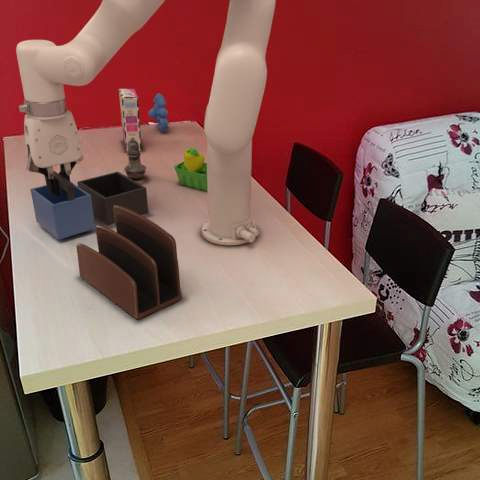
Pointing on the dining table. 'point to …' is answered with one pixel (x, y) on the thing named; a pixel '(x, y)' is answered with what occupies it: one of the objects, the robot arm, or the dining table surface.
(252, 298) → the dining table surface
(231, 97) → the robot arm
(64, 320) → the dining table surface
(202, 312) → the dining table surface
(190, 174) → the fruit basket
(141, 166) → the grey chess piece
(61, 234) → the blue tote
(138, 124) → the candy bar box
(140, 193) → the black tote
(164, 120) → the grapes
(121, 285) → the letter holder
